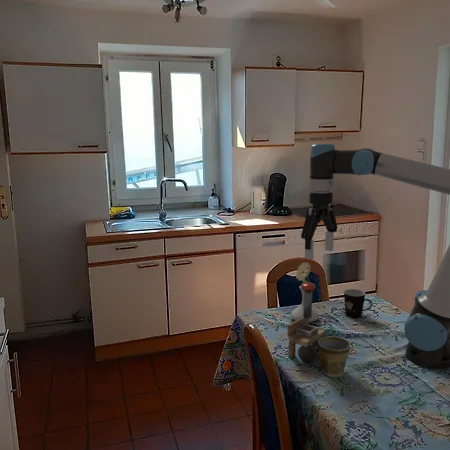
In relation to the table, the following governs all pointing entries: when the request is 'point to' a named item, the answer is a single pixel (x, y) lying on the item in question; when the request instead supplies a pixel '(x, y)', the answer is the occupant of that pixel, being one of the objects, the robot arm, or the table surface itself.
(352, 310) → the coffee mug
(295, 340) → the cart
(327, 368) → the ceramic cup
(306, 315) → the pin
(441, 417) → the table surface
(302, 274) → the flower in vase
